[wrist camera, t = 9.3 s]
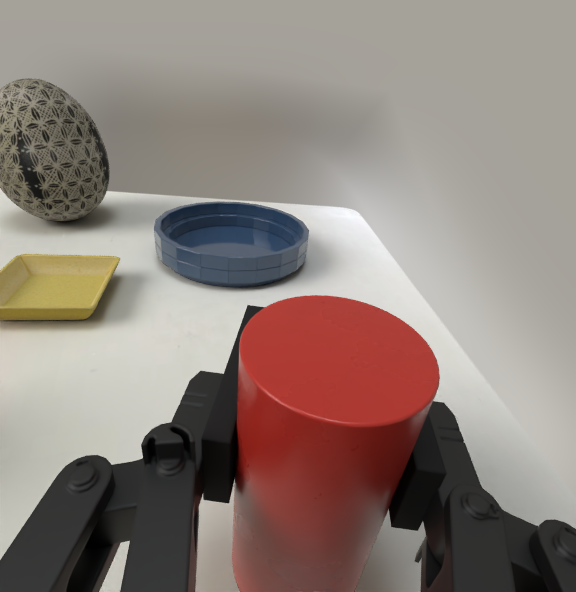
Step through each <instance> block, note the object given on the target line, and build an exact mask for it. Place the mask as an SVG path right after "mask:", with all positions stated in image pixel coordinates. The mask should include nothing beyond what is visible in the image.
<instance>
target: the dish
mask: <svg viewBox="0 0 576 592" xmlns="http://www.w3.org/2000/svg"><path fill="white" fill-rule="evenodd" d="M154 235H155V245H156V253H157V255H158V256H159V258H160V259H161V261H162V262H163V264H165V265H166V266H168V267H170V268H171V269H173V270H174V271H175V272H176V273H178V274H180V275H182V276H184V277H186V278H188V279H191V280H194V281H197V282H201V283H205V284H210V285H216V286H226V287H248V286H257V285H263V284H267V283H271V282H275V281H277V280H280V279H282V278H284V277H286V276H288V275H289V274H291V273H292V272H295V271H296V270H297V269H298V268H299V267H300V266H301V265H302V264H303V263H304V262H305V258H306V251H307V243H308V235H309V230H308V228H307V227H306V226H305V224H304V223H303V222H302V221H301V220H299V219H297V218H296V217H294V216H293V215H291V214H288V213H286V212H283V211H280V210H278V209H274V208H270V207H266V206H261V205H257V204H249V203H241V202H205V203H195V204H190V205H185V206H180V207H177V208H174V209H172V210H169V211H167V212H165V213H164V214H162V215H161V216H160V217H159V218H157V219H156V221H155V226H154Z"/></svg>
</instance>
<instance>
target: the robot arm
mask: <svg viewBox="0 0 576 592" xmlns="http://www.w3.org/2000/svg"><path fill="white" fill-rule="evenodd" d="M263 308H265V307H257V306H250V305H248V306H247V309H246V312H245V315H244V318H243V320H242V323H241V326H240V329H239V332H238V335H237V338H236V340H235V343H234V346H233V349H232V352H231V355H230V358H229V361H228V363H227V366H226V369H225V372H224V374H220V373H213V372H205V371H200V372H199V373H198V374H197V375H196V376H195V377H193V378H192V379H191V380H190V382H189V384H188V386H187V389H186V391H185V394H184V395H183V397H182V400H181V402H180V405H179V406H178V409H177V411H176V413H175V415H174V417H173V420H172V422H171V423H166V424H161V425H159V426H157V427H155V428H154V429H152V430H151V431H150V432H149V433H148V434H147V435H146V436H145V438H144V440H143V442H142V444H141V447H142V453H143V459H140V460H137V461H133V462H127V463H121V464H115V465H111V464H110V462H109V461H108V460H107V459H106V458H104V457H101V456H98V455H90V456H85V457H81V458H78V459H76V460H74V461H73V462H71V463H70V464H68V465H67V466H65V468H64V469H63V470H62V471H61V472H60V473H59V474H58V475H57V477H56V478H55V480H54V481H53V483H52V484H51V486H50V487H49V489H48V490H47V492H46V493H45V495H44V496H43V498H42V499H41V501H40V502H39V504H38V505H37V507H36V508H35V510H34V511H33V513H32V514H31V516H30V517H29V518H28V520H27V521H26V523H25V524H24V526H23V527H22V529H21V530H20V532H19V533H18V535H17V536H16V538H15V539H14V541H13V542H12V544H11V545H10V547H9V548H8V550H7V551H6V553H5V554H4V556H3V557H2V559H1V560H0V592H99V591H100V588H101V586H102V584H103V581H104V579H105V577H106V575H107V572H108V570H109V568H110V566H111V563H112V561H113V559H114V557H115V554H116V552H117V550H118V547H119V545H120V543H121V542H125V541H130V544H129V549H128V554H127V560H126V565H125V570H124V575H123V580H122V586H121V591H120V592H195V584H196V564H197V544H198V524H199V508H198V507H199V504H200V501H201V497H202V494H203V498H204V500H209V501H216V502H223V503H229V500H230V496H231V492H232V487H233V483H234V479H235V460H236V430H237V400H238V370H239V343H240V338H241V334H242V332H243V330H244V328H245V326H246V325H247V323H248V322H249V320H250V319H251V318H252V317H253V316H254V315H255V314H256V313H258V312H259V311H260V310H262V309H263ZM463 441H464V440H463V437H462V434H461V432H460V431H459V426H458V424H457V421H456V418H455V416H454V414H453V413H452V412H451V411H450V410H449V408H448V407H447V406H446V405H445V404H444V403H442V402H434V401H433V402H432V405H431V407H430V409H429V412H428V414H427V417H426V419H425V422H424V424H423V426H422V429H421V431H420V434H419V436H418V439H417V441H416V443H415V446H414V448H413V451H412V453H411V455H410V458H409V460H408V463H407V465H406V468H405V470H404V472H403V475H402V477H401V480H400V482H399V485H398V487H397V489H396V492H395V494H394V497H393V499H392V501H391V504H390V506H389V513H390V520H391V527H395V528H402V529H409V530H416V531H418V529H419V527H420V525H421V523H422V521H423V522H424V527H425V531H426V537H425V539H424V541H423V543H422V545H421V546H420V548H419V550H418V552H417V554H416V558H415V562H418V563H419V561H420V560H421V558H422V566H421V592H576V529H575V528H573V527H571V526H570V525H568V524H567V523H564V522H561V521H558V520H545V521H544V522H543V523H541V524H540V525H539V526H536V525H533V524H531V523H529V522H527V521H524V520H522V519H520V518H518V517H515V516H513V515H511V514H509V513H507V512H505V511H504V510H502V509H501V508H500V506H499V504H498V503H497V502H496V500H495V499H494V498H493V497H492V496H491V495H490V494H489V493H488V492H487V491H485V490H484V489H482V487H481V485H480V482H479V479H478V477H477V474H476V471H475V469H474V466H473V464H472V461H471V458H470V456H469V453H468V450H467V448H466V445H465V443H464V442H463Z"/></svg>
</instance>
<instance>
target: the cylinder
mask: <svg viewBox="0 0 576 592" xmlns="http://www.w3.org/2000/svg"><path fill="white" fill-rule="evenodd" d="M439 379H440V376H439V367H438V364H437V360H436V358H435V355H434V353H433V351H432V350H431V348H430V347H429V345H428V344H427V342H426V341H425V340H424V339H423V338H422V337H421V335H419V334H418V333H417V332H416V331H415V330H414V329H413V328H412V327H410V326H409V325H408V324H406V323H405V322H404V321H402V320H401V319H399V318H397V317H396V316H394V315H392V314H390V313H388V312H386V311H384V310H382V309H380V308H377V307H375V306H372V305H369V304H366V303H363V302H360V301H356V300H352V299H347V298H341V297H334V296H318V295H315V296H301V297H294V298H289V299H285V300H282V301H278V302H276V303H273V304H271V305H269V306H267V307H265V308H263V309H262V310H260V311H259V312H258V313H256V314H255V315H254V316H253V317H252V318H251V319H250V320H249V322H248V323H247V325H246V326H245V328H244V330H243V332H242V334H241V338H240V343H239V370H238V400H237V430H236V460H235V489H234V518H233V548H232V562H233V571H234V575H235V579H236V582H237V585H238V588H239V590H240V592H354V591H355V589H356V586H357V584H358V581H359V579H360V577H361V574H362V572H363V569H364V567H365V564H366V562H367V560H368V557H369V555H370V552H371V550H372V547H373V545H374V543H375V540H376V538H377V535H378V533H379V531H380V528H381V526H382V523H383V521H384V518H385V516H386V514H387V511H388V509H389V506H390V504H391V501H392V499H393V497H394V494H395V492H396V489H397V487H398V485H399V482H400V480H401V477H402V475H403V472H404V470H405V468H406V465H407V463H408V460H409V458H410V455H411V453H412V451H413V448H414V446H415V443H416V441H417V439H418V436H419V434H420V431H421V429H422V426H423V424H424V422H425V419H426V417H427V414H428V412H429V409H430V407H431V405H432V402H433V400H434V397H435V395H436V392H437V389H438V387H439Z"/></svg>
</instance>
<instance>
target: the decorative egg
mask: <svg viewBox="0 0 576 592" xmlns="http://www.w3.org/2000/svg"><path fill="white" fill-rule="evenodd" d="M108 184H109V162H108V157H107V152H106V149H105V146H104V143H103V141H102V138H101V136H100V133H99V131H98V129H97V127H96V125H95V123H94V122H93V120H92V119H91V117H90V116H89V114H88V113H87V112H86V111H85V109H84V108H83V107H82V106H81V105H80V104H79V103H78V102H77V101H76V100H75V99H74V98H73V97H71V96H70V95H69V94H68V93H66V92H65V91H63V90H62V89H60V88H59V87H57V86H55V85H53V84H51V83H48V82H46V81H42V80H39V79H20V80H16V81H13V82H11V83H9V84H7V85H6V86H4V87H3V88H2V89H0V188H1V190H2V191H3V192H4V193H5V194H6V196H7V197H8V198H9V199H10V200H11V201H12V202H14V203H15V204H16V205H17V206H19V207H20V208H22V209H23V210H24V211H26V212H28V213H30V214H32V215H34V216H37V217H40V218H43V219H47V220H53V221H70V220H75V219H79V218H81V217H83V216H86V215H87V214H89V213H90V212H91V211H93V210H94V209H95V208H96V207H97V206H98V205H99V204H100V203H101V201H102V200H103V198H104V196H105V194H106V191H107V188H108Z"/></svg>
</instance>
